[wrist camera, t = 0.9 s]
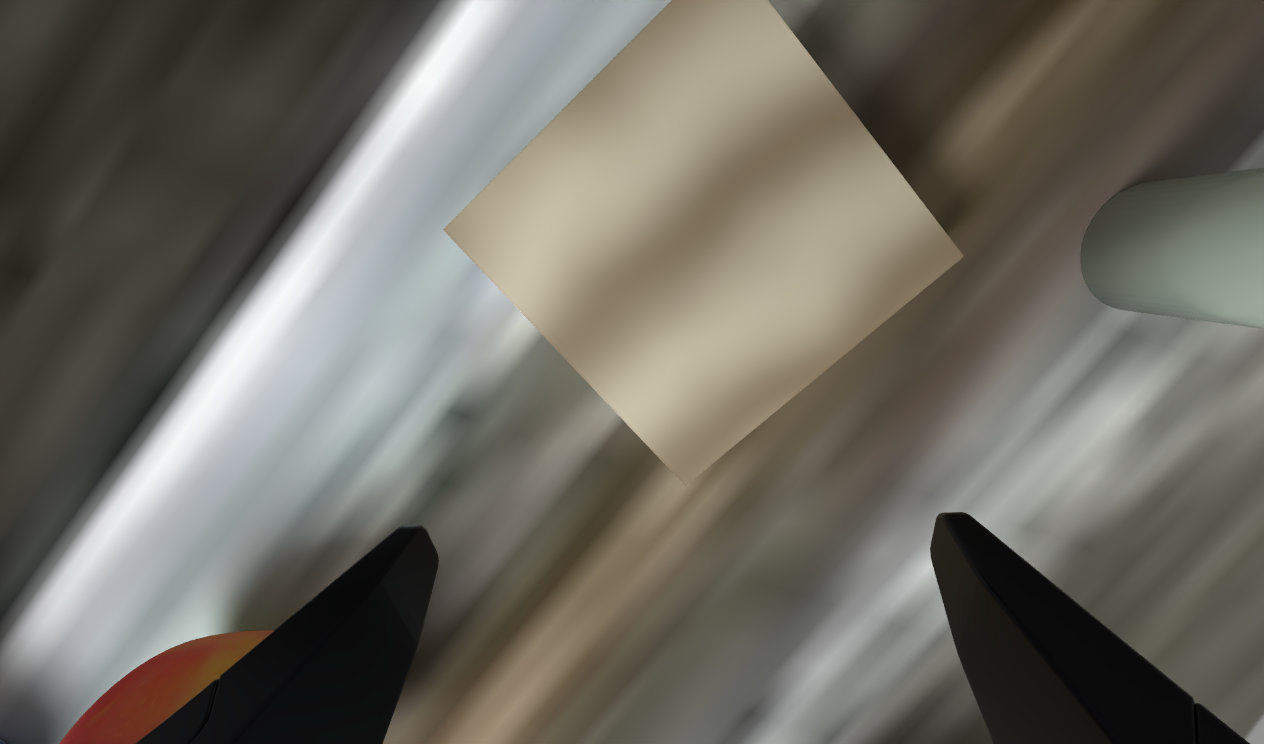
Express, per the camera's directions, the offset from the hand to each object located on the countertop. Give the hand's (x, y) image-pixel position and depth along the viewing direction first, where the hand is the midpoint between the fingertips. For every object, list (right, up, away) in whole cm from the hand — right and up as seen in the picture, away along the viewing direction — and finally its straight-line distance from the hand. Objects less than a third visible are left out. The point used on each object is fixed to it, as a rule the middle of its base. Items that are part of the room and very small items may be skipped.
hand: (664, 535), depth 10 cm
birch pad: (+2, +8, +12) cm, 15 cm away
